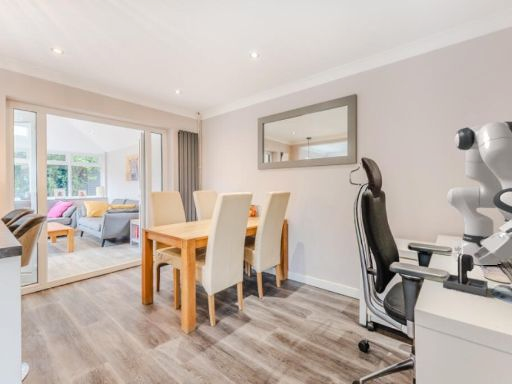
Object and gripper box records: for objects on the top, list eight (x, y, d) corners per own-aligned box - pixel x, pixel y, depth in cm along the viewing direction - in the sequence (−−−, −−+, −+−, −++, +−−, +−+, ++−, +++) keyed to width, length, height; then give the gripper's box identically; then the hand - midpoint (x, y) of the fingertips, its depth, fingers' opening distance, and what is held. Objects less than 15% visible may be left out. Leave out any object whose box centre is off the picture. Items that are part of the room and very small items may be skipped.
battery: (471, 289, 88) (470, 257, 88) (457, 286, 91) (457, 255, 91) (474, 284, 93) (474, 254, 93) (461, 282, 96) (461, 252, 96)
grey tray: (448, 279, 100) (448, 273, 100) (487, 287, 92) (487, 281, 92) (443, 287, 92) (443, 280, 92) (485, 296, 84) (485, 289, 84)
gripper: (498, 224, 95) (465, 247, 100) (515, 231, 78) (474, 258, 83) (514, 237, 93) (479, 259, 98) (535, 247, 76) (492, 273, 81)
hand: (477, 259), depth 91 cm, fingers open, 8 cm apart
